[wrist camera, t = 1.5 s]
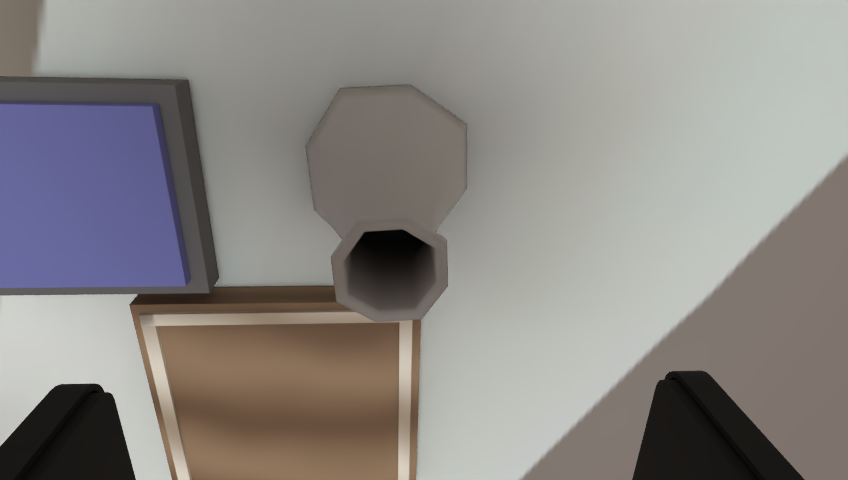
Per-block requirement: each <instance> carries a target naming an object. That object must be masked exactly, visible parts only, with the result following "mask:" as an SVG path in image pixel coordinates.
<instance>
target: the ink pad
mask: <svg viewBox="0 0 848 480" xmlns="http://www.w3.org/2000/svg"><path fill="white" fill-rule="evenodd" d="M218 278H219V277H218V271H217V264H216V258H215V251H214V245H213V239H212V232H211V226H210V220H209V213H208V207H207V200H206V194H205V188H204V181H203V175H202V169H201V162H200V156H199V149H198V143H197V137H196V130H195V124H194V118H193V111H192V105H191V98H190V92H189V86H188V80H162V79H110V78H57V77H5V76H4V77H3V76H0V295H77V294H174V293H210V291H211V290H212V288H213V287H214V285H215V283H216V282H217V280H218Z"/></svg>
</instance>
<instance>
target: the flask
mask: <svg viewBox="0 0 848 480" xmlns="http://www.w3.org/2000/svg"><path fill="white" fill-rule="evenodd" d="M306 153H307V161H308V168H309V175H310V183H311V190H312V197H313V205H314V210H315V211H316V212H317V213H318V214H319V215H320V216H321V217H322V218H323V219H324V220H325V221H327V222H328V223H329V224H330V225H331V226H332V228H333V229H334V230H335V231H336V232H337V233H338V235H339V236H340V237H341V238H342V239H343V240H342V241H341V243H340V244H339V246H338V247H337V248H336V250H335V251H334V253H333V254H332V256H331V263H332V271H333V279H334V287H335V294H336V302H338V303H340V304H342V305H344V306H346V307H348V308H350V309H351V310H353V311H355V312H357V313H359V314H361V315H363V316H365V317H367V318H369V319H370V320H372V321H374V322H390V321H404V320H418V319H422V318H423V317H424V315H425V314H426V313H427V312H428V310H429V309H430V308H431V307H432V305H433V304H434V303H435V302H436V300H437V299H438V298H439V296H440V295H441V294H442V293H443V291H444V290H445V289H446V288H447V286H448V266H447V240H446V239H445V238H444V237H443V236H441V235H439V234H438V233H436V230H437V228H438V227H439V225H440V224H441V223H442V221H443V220H444V218H445V217H446V216H447V214H448V213H449V212H450V210H451V209H452V208H453V206H454V205H455V204H456V202H457V201H458V200H459V198H460V197H461V196H462V194H463V193H464V192H465V190H466V189H467V124H466V123H465V122H463V121H462V120H460V119H459V118H457V117H456V116H455V115H453V114H452V113H450V112H449V111H447V110H446V109H445V108H443V107H442V106H440V105H439V104H437V103H436V102H435V101H433V100H432V99H430V98H429V97H427V96H426V95H425V94H423V93H422V92H420V91H419V90H417V89H416V88H415V87H413V86H412V85H398V86H378V87H358V88H340V90H339V92H338V93H337V95H336V97H335V98H334V100H333V102H332V103H331V105H330V107H329V108H328V110H327V112H326V113H325V115H324V116H323V118H322V120H321V121H320V123H319V125H318V126H317V128H316V130H315V131H314V133H313V135H312V136H311V138H310V140H309V141H308V143H307V145H306Z"/></svg>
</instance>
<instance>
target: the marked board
mask: <svg viewBox="0 0 848 480" xmlns="http://www.w3.org/2000/svg"><path fill="white" fill-rule="evenodd" d="M130 309H131V313H132V317H133V321H134V325H135V329H136V334H137V338H138V342H139V346H140V350H141V354H142V358H143V362H144V366H145V370H146V374H147V378H148V383H149V387H150V391H151V395H152V399H153V403H154V407H155V411H156V415H157V419H158V423H159V428H160V432H161V436H162V440H163V444H164V448H165V452H166V456H167V460H168V464H169V468H170V472H171V477H172V480H416V463H417V429H418V395H419V361H420V327H421V319H418V320H404V321H390V322H374V321H372V320H370V319H369V318H367V317H365V316H363V315H361V314H359V313H357V312H355V311H353V310H351V309H350V308H348V307H346V306H344V305H342V304H340V303H338V302H336V294H335V287H334V286H300V287H213V288H212V290H211V291H210V293H174V294H138V295H137V297H136V298H135V299H134V300H133V301H132V302H131V304H130Z"/></svg>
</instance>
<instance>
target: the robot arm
mask: <svg viewBox="0 0 848 480" xmlns="http://www.w3.org/2000/svg"><path fill="white" fill-rule="evenodd" d="M0 480H136V479H135V475H134V471H133V468H132V464H131V460H130V456H129V452H128V449H127V445H126V441H125V437H124V434H123V430H122V426H121V422H120V419H119V415H118V411H117V407H116V404H115V400H114V397H113V395H112V394H111V393H108V392H104V390H103V388H102V387H101V386H100V385H99V384H61V385H58V386H56V387H54V388H53V389H52V390H51V391H50V392H49V393H48V394H47V395H46V396H45V397H44V399H43V400H42V401H41V402H40V403H39V404H38V405H37V406H36V407H35V409H34V410H33V411H32V412H31V413H30V414H29V415H28V416H27V417H26V419H25V420H24V421H23V422H22V423H21V424H20V425H19V426H18V427H17V429H16V430H15V431H14V432H13V433H12V434H11V435H10V436H9V437H8V439H7V440H6V441H5V442H4V443H3V444H2V445H1V446H0ZM632 480H804V479H803V478H802V476H801V475H800V474H799V473H798V472H797V471H796V470H795V469H794V468H793V466H792V465H791V464H790V463H789V462H788V461H787V460H786V459H785V458H784V457H783V455H782V454H781V453H780V452H779V451H778V450H777V449H776V448H775V447H774V446H773V444H772V443H771V442H770V441H769V440H768V439H767V438H766V437H765V435H764V434H763V433H762V432H761V431H760V430H759V429H758V428H757V427H756V426H755V425H754V423H753V422H752V421H751V420H750V419H749V418H748V417H747V416H746V414H745V413H744V412H743V411H742V410H741V409H740V408H739V407H738V406H737V405H736V403H735V402H734V401H733V400H732V399H731V398H730V397H729V396H728V395H727V393H726V392H725V391H724V390H723V389H722V388H721V387H720V386H719V385H718V383H717V382H716V381H715V380H714V379H713V378H712V377H711V376H710V375H709V374H708V373H707V372H704V371H672V372H669V373H668V374H667V375H666V377H665V379H664V380H660V381H659V382H658V383H657V385H656V389H655V392H654V397H653V401H652V404H651V408H650V412H649V416H648V420H647V424H646V428H645V432H644V436H643V440H642V444H641V448H640V452H639V456H638V460H637V464H636V468H635V471H634V475H633V479H632Z"/></svg>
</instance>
